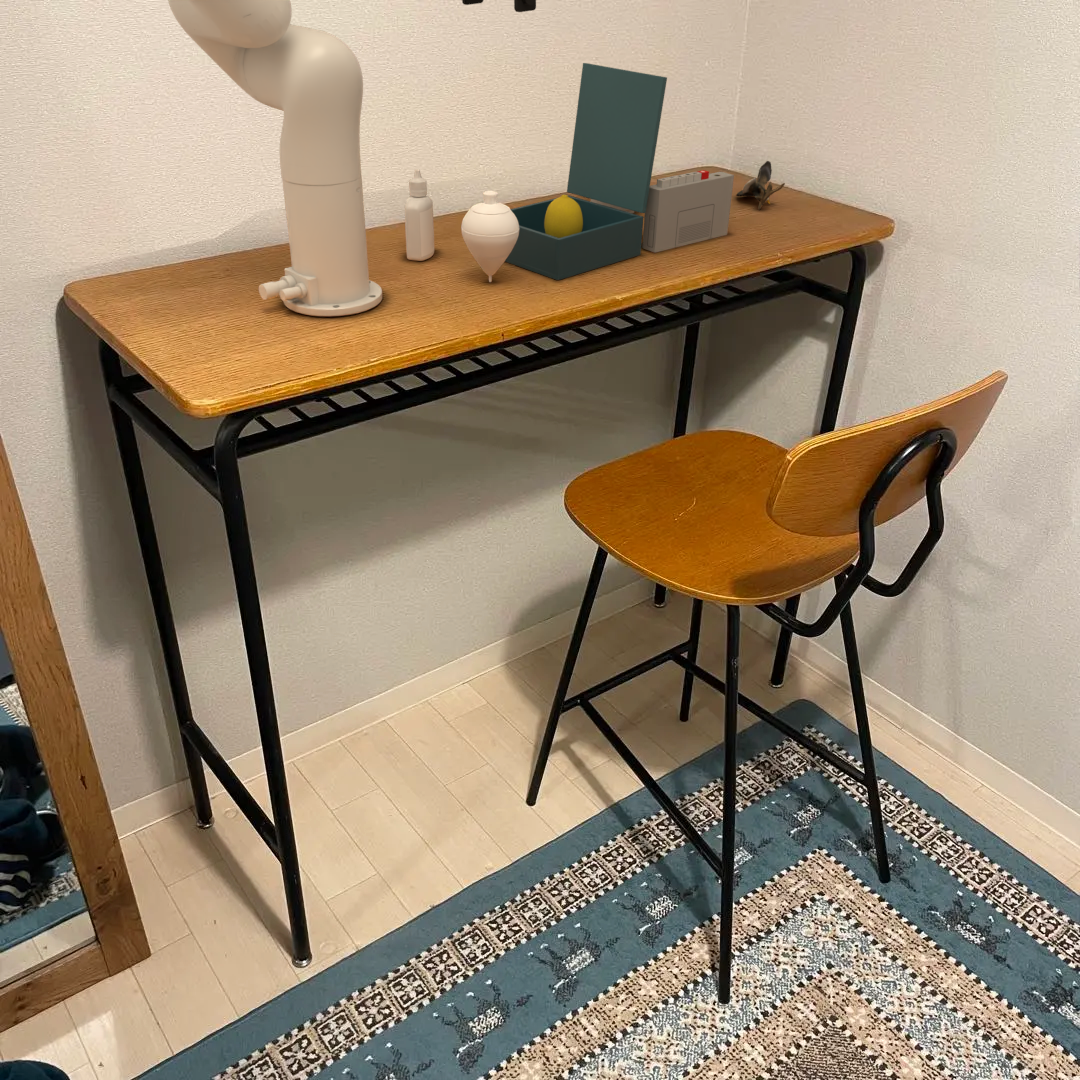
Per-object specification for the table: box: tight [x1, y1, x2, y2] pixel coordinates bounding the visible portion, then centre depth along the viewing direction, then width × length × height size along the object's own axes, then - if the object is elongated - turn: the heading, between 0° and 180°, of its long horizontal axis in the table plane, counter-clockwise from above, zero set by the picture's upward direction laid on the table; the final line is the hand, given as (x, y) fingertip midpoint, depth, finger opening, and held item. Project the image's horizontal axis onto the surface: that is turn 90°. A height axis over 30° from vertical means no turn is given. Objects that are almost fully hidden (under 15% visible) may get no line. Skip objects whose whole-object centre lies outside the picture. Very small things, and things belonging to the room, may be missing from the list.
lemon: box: [544, 194, 583, 238], centre depth 150 cm, size 6×6×8 cm
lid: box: [566, 62, 668, 214], centre depth 150 cm, size 18×15×1 cm
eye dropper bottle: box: [404, 169, 436, 262], centre depth 147 cm, size 4×6×12 cm
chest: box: [504, 194, 644, 281], centre depth 151 cm, size 17×15×6 cm
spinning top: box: [460, 190, 519, 283], centre depth 138 cm, size 8×8×12 cm
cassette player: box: [641, 169, 735, 253], centre depth 156 cm, size 16×3×10 cm, turn 129°
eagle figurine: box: [735, 160, 786, 211], centre depth 176 cm, size 8×7×9 cm
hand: (498, 7), depth 132 cm, fingers open, 9 cm apart
